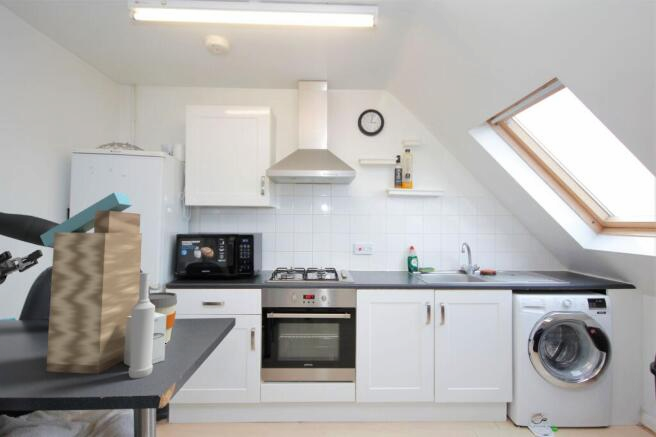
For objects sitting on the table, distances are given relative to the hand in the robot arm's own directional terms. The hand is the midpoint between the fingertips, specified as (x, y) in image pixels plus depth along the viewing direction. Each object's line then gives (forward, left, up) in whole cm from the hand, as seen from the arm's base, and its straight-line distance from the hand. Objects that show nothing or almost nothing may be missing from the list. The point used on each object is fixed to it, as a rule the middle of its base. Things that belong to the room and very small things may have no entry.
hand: (26, 253), depth 90 cm
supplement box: (-20, +30, -29) cm, 46 cm away
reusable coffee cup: (-29, +16, -29) cm, 44 cm away
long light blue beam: (-9, +15, +9) cm, 20 cm away
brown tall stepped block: (-12, +19, -29) cm, 37 cm away
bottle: (-16, +37, -29) cm, 50 cm away
